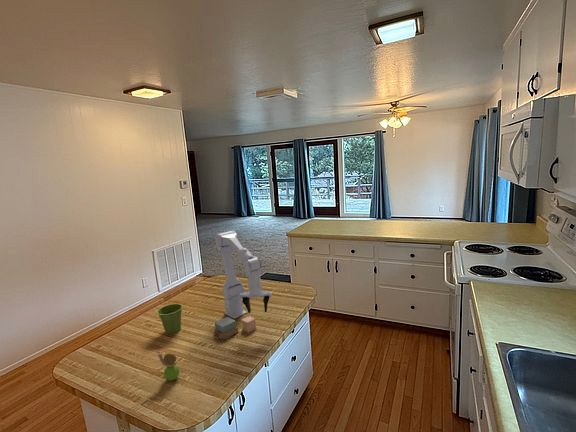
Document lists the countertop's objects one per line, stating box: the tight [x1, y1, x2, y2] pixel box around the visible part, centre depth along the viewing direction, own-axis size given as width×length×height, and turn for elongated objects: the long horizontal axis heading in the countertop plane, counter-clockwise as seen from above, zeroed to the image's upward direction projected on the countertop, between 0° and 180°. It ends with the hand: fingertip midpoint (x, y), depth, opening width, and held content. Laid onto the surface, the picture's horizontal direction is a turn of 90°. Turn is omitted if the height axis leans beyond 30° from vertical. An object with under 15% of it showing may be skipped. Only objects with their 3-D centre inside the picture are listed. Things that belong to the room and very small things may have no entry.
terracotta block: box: [241, 315, 257, 333], centre depth 144 cm, size 4×4×5 cm
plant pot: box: [156, 303, 184, 335], centre depth 149 cm, size 12×12×11 cm
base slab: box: [213, 325, 239, 340], centre depth 142 cm, size 8×8×3 cm
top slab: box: [214, 316, 237, 333], centre depth 142 cm, size 7×7×3 cm
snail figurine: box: [157, 350, 180, 382], centre depth 113 cm, size 5×6×12 cm
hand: (257, 311), depth 141 cm, fingers open, 7 cm apart
